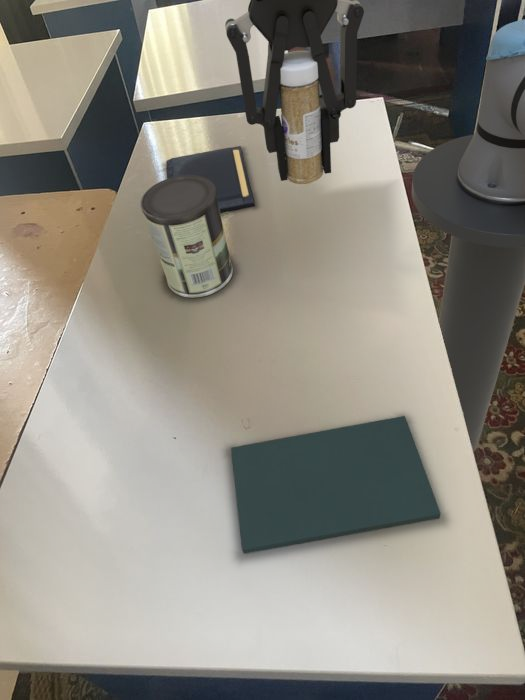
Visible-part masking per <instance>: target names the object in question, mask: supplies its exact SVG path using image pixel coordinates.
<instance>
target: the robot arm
mask: <svg viewBox="0 0 525 700" xmlns="http://www.w3.org/2000/svg"><path fill="white" fill-rule="evenodd" d="M334 13H336V20H337V22H338V23H339V25H340V32H339V33H340V34H339V35H340V39H339V41H340V46H339V47H340V48H339V49H340V50H339V53H340V92H339V93H337V94H336V91H335V88H334V84H333V79H332V77H331V76H332V75H331V73H330V69H329V65H328V64H329V63H328V60H327V58H326V53H325V48H324V44H323V40H322V34H323V33H324V31H325V30H326V27H327V26H328V24H329V22H330V21H331V18H332V17H333V15H334ZM364 14H365V9H364V7H363V6H362V4H361V2H360V1H359V0H250V1H249V4H248V7H247V12H245V13H243V14H242V15H241V16H239V17H237V18H236V19H234V18H228V19H227V20H226V21H225V25H224V28H225V33H226V37H227V39H228V41H229V43H230V45H231V47H232V49H233V50H234V52H235V57H236V64H237V69H238V75H239V81H240V89H241V95H242V101H243V105H244V106H243V107H244V112H245V118H246V119H245V120H246V122H247V124H248V125H250V126H254V125H256V124H257V125H260V126H262V127H263V134H264V141H265V146H266V151H267V152H268V154H272V153H273V154H274V153H276V161H277V170H278V175H279V178H280V181H281V182H284V181H288V179H287V171H286V160H285V150H284V140H283V130H282V119H281V116H280V115H277V110H278V102H279V96H280V91H279V87H280V79H281V71H280V70H281V68H282V64H283V61H284V54H286V52H287V51H291V50H292V49H295V48H308V50H309V49H310V53H311V55H312V57H313V60H314V61H315V62H317V66H318V78H319V85H320V89H321V92H322V96H323V99H324V103H325V106H326V109H325V108H322V109H320V110H321V134H322V149H321V151H322V152H321V153H322V167H323V174H324V175H326V174H332V157H331V155H332V153H331V152H332V151H331V144H332V143H337V142H339V139H340V118H341V116H342V112H343V111H344V110H346V109H353V108H354V107H355V106H356V104H357V81H358V80H357V77H358V76H357V75H358V74H357V73H358V72H357V71H358V64H357V63H358V32H359V29H360V26H361V23H362V21H363V18H364ZM252 27H255V28H256V30H258V32H259V33H260V34H261V35H262V36H263V37H264V38H265V40H266V41H267V42H268V44H267V59H266V69H265V78H264V88H263V96H262V97H263V98H262V107H259V106H257V103H256V96H255V95H256V94H255V90H254V88H255V87H254V83H253V76H252V68H251V61H250V55H249V51H248V46H247V45H248V44H247V43H249V42H250V40H251V39H252V38H251V37H252V35H251V29H252ZM485 60H486V65H485V72H484V78H483V84H482V90H481V97H480V103H479V108H478V109H479V110H478V115H477V121H476V128H475V132H474V136H473V138H472V140H471V141H470V143H469V145H468V147H467V149H466V151H465V153H464V155H463V157H462V159H461V161H460V163H459V167H458V172H457V181H458V184H459V186H460V187H461V189H462V190H463V191H464V192H466V193H467V194H468V195H470V196H472V197H473V198H475V199H478V200H480V201H483V202H486V203H490V204H496V205H504V206H518V205H525V19H521V20H516V21H513V22H510V23H507V24H505V25H503V26H501V27H500V28H499V29H498V30H497V31H496V32H495V33H494V34H493V36H492V38H491V40H490V45H489V48H488V52H487V54H486V58H485Z"/></svg>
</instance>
